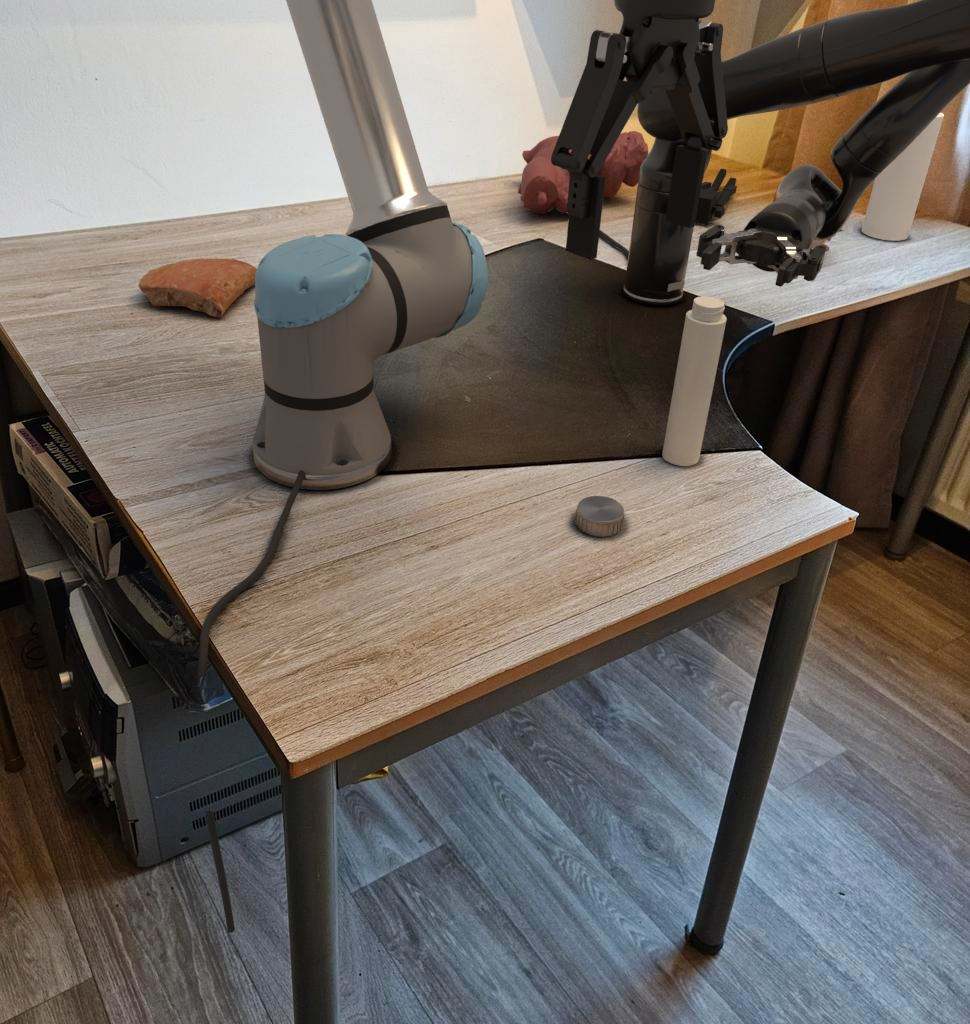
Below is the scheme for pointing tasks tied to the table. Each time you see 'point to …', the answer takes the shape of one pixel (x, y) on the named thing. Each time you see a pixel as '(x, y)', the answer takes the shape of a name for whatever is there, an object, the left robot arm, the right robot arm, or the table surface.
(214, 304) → the ceramic shard
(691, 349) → the beige cylindrical rod
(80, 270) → the table surface
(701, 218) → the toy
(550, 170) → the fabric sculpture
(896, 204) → the tall white tube
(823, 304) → the table surface
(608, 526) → the lid
